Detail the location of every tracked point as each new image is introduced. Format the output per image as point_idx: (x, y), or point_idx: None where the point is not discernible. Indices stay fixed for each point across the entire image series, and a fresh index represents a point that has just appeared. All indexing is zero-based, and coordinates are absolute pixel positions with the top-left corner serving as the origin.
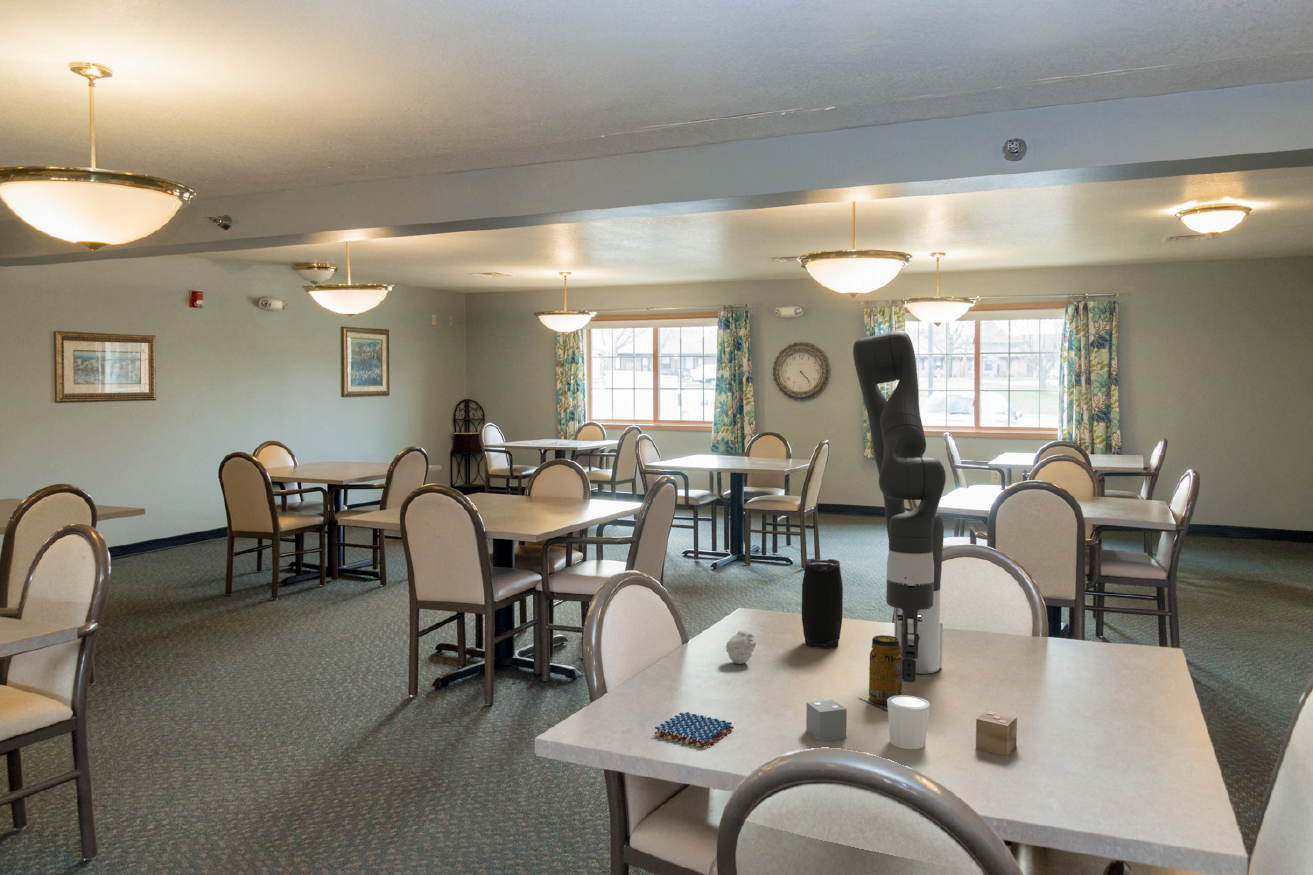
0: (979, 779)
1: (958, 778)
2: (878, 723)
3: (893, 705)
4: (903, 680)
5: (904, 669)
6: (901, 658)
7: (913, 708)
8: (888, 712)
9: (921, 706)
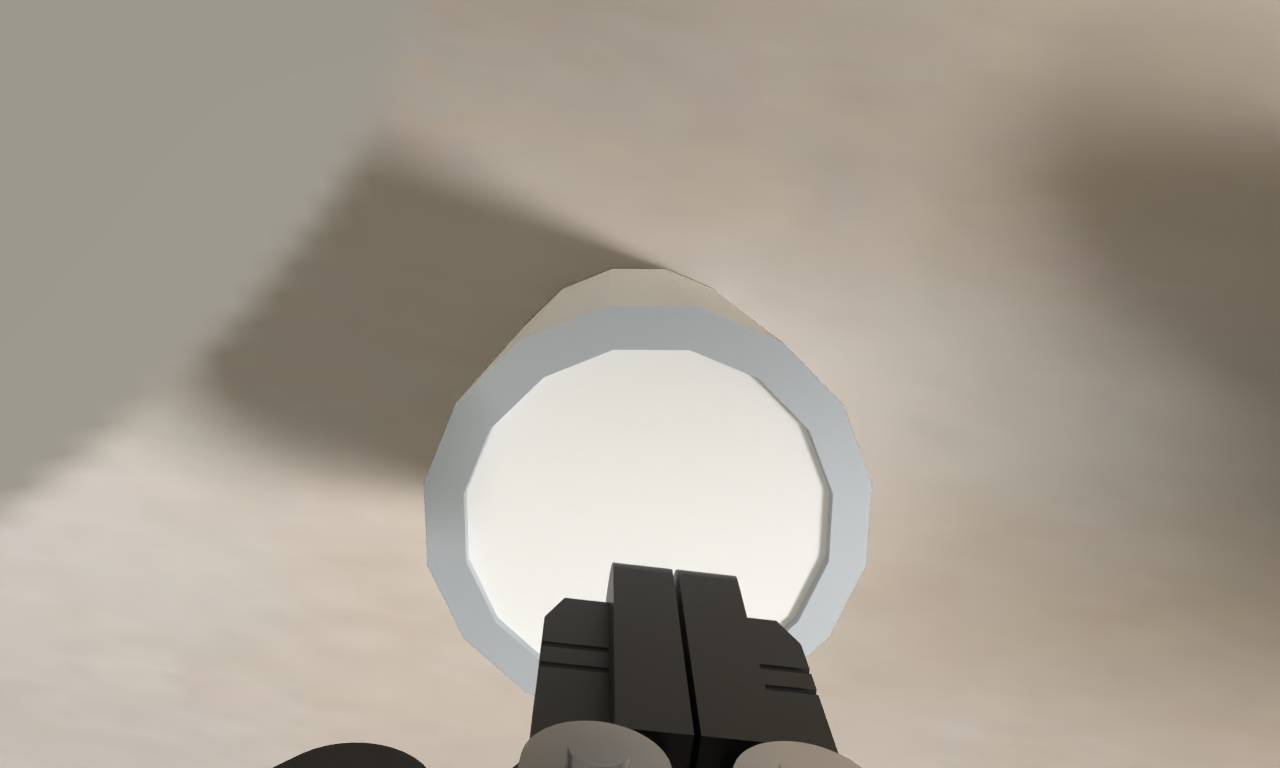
0: (39, 748)
1: (21, 626)
2: (1045, 228)
3: (513, 350)
4: (609, 576)
5: (568, 669)
6: (601, 727)
7: (439, 544)
8: (646, 292)
9: (505, 631)
